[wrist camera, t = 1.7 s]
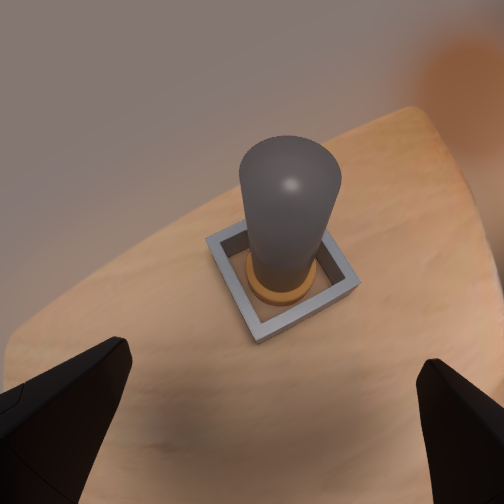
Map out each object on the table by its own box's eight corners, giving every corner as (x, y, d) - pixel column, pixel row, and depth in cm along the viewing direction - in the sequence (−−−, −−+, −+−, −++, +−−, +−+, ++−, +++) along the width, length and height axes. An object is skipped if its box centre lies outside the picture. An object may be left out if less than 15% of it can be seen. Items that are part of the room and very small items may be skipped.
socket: (257, 344, 20) (255, 340, 17) (212, 254, 23) (204, 238, 20) (349, 294, 21) (361, 282, 18) (298, 213, 24) (301, 193, 21)
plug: (266, 317, 21) (263, 251, 9) (237, 261, 23) (207, 153, 11) (324, 286, 22) (378, 195, 10) (292, 235, 23) (308, 116, 12)
